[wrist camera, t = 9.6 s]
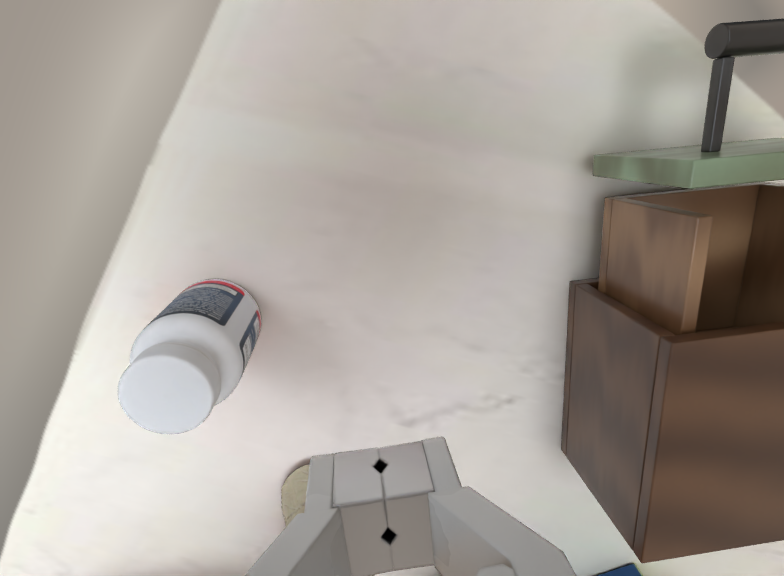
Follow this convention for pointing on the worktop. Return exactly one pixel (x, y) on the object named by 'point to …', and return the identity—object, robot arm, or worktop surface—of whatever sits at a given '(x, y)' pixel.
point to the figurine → (295, 494)
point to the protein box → (624, 571)
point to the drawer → (702, 214)
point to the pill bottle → (190, 357)
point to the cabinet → (675, 427)
